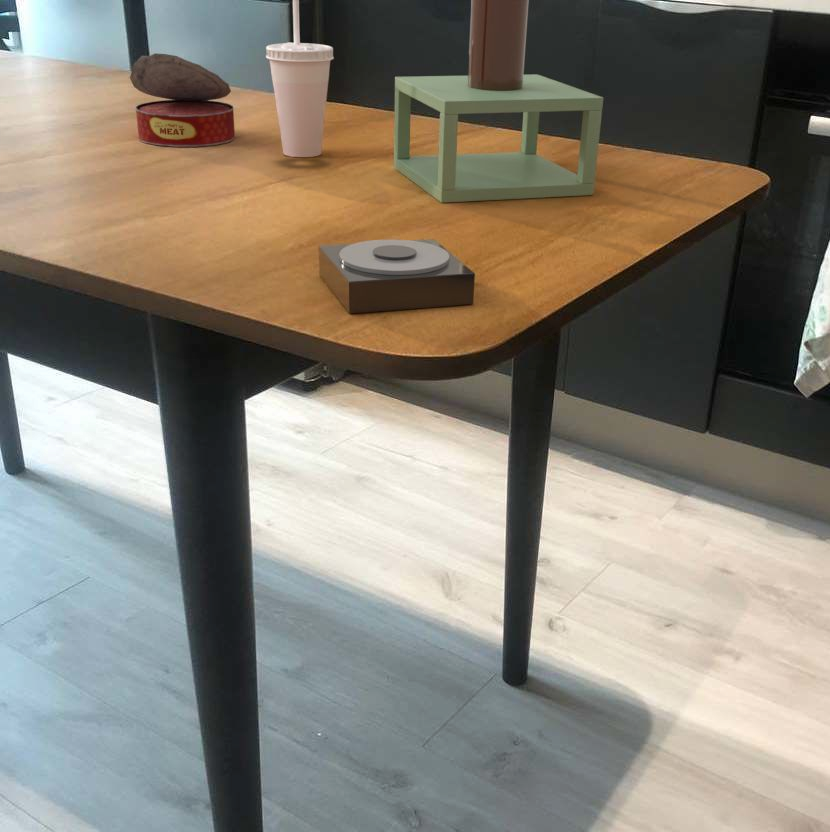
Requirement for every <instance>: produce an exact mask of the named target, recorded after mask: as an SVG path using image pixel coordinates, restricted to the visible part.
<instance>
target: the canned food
mask: <svg viewBox="0 0 830 832" xmlns="http://www.w3.org/2000/svg"><path fill="white" fill-rule="evenodd" d="M129 79H130V82H131V84H132V85H133V87H134V88H135V89H136V90H138V91H139V92H140V93H143V94H145V95H148V96H152V97H155V98H160V99H164V100H154V101H149V102H143V103H139V104H138V105H136V106H135V115H136V125H137V135H138V136H137V137H138V140H139V141H140V142H141V143H144V144H147V145H153V146H161V147H171V148H197V147H198V148H199V147H200V148H201V147H210V146H211V147H212V146H218V145H219V146H220V145H223V144H227V143H230V142H232V141H235V138H236V135H235V134H236V132H235V131H236V130H235V115H234V106H233V105H232V104H230V103H227V102H224V101H223V102H222V101H218V100H220V99H223V98H226V97H228V96H229V95H230V93H231V92H232V90H231V88H230V84H229V83H228V82H227V81H225V80H224V79H222V78H221V77H220V76H219V74H217V73H214V72H212V71H211V70H208V69H207V68H205V67H204V66H202V65H201V64H198V63H195V62H192V61H190V60H186V59H185V58H182V57H180V56H178V55H174V54H168V53H152V54H150V55H141V56H140V57H139V58H138V59H137V60H136V61H135V63H133V65H132V67H131V72H130V76H129ZM215 100H217V101H215Z"/></svg>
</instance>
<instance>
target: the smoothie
mask: <svg viewBox="0 0 830 832" xmlns="http://www.w3.org/2000/svg"><path fill="white" fill-rule="evenodd" d="M292 21H293V22H292V25H293V42H290V41H288V42H285V43H283V42H281V43H274V44H268V45H267V46H265V51H266V54H265V58H266V59H267V60H268V61H269V65H270V72H271V80H272V86H273V92H274V93H273V94H274V100H275V106H276V113H277V120H278V125H279V134H280V139H281V145H282V152H283V155H285V156H287V157H294V158H315V157H318V156H321V155H322V149H323V138H324V130H325V129H324V127H325V118H326V108H327V99H328V88H329V80H330V67H331V61H332V60H334V59H335V57H334V47H333V46H330V45H326V44H320V43H308V42H301V37H300V0H292Z"/></svg>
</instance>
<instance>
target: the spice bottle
mask: <svg viewBox="0 0 830 832" xmlns="http://www.w3.org/2000/svg"><path fill="white" fill-rule="evenodd" d="M529 2H530V0H470V20H469V21H470V23H469V41H468V42H469V43H468V44H469V45H468V65H467V66H468V67H467V76H468V86H469V87H471V88H475V89H481V90H492V91H510V90H518V89H521V88H522V87H523V77H524V75H525V74H524V73H525V59H526V47H527V34H528V33H527V31H528V17H529V6H530V5H529V4H530V3H529Z"/></svg>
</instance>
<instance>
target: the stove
mask: <svg viewBox="0 0 830 832" xmlns="http://www.w3.org/2000/svg"><path fill="white" fill-rule="evenodd" d="M318 273H319V277H320V278H321V279H322V281H323V282H324V283H325V285H326V286H327V287H328V288H329V289H330V291H331V293H333V295H334V296H335V297H336V299H337V300H338V301H339V303H340V304H341V305H342V306H343V308H344V309H345V310H346V311H347V313H348V314H350V315H353V314H364V313H377V312H391V311H404V310H414V309H415V310H416V309H428V308H441V307H454V306H466V305H473V304H474V300H475V299H474V297H475V280H476V279H475V277H476V273H475V272H474V271H473V270H472V269H471V268H469V267H468V266H467V265H466V264H465V263H463V262H462V261H461V260H460V259H458V258H457V257H456V255H454V254H453V253H451V251H449V250H448V249H447V248H446V247H444V246H443V245H442V244H441V243H440V242H438V241H437V240H436V239H435V238H427V239H410V240H408V239H392V238H391V239H373V240H364V241H359V242H354V243H344V244H327V245H319V246H318Z"/></svg>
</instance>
